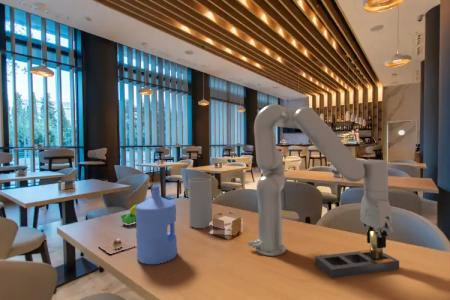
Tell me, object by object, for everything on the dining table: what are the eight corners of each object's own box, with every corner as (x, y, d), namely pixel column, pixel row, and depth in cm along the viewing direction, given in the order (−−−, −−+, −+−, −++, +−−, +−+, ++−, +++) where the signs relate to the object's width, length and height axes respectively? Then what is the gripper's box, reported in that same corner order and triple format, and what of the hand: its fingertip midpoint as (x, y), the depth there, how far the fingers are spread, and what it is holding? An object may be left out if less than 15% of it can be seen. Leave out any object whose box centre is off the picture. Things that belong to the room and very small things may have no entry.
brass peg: (375, 259, 91) (375, 234, 90) (367, 254, 95) (367, 230, 94) (385, 258, 91) (385, 232, 91) (376, 253, 95) (376, 229, 95)
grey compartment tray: (331, 278, 84) (331, 269, 84) (315, 264, 94) (315, 255, 94) (399, 269, 89) (399, 260, 89) (376, 256, 99) (376, 248, 99)
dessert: (97, 249, 113) (97, 238, 113) (124, 241, 122) (124, 231, 121) (109, 257, 105) (109, 245, 105) (137, 248, 113) (136, 237, 113)
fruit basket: (137, 219, 154) (136, 200, 153) (146, 222, 148) (146, 202, 148) (119, 225, 144) (119, 205, 144) (129, 227, 139) (128, 207, 139)
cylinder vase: (216, 223, 143) (215, 178, 142) (203, 230, 132) (202, 182, 131) (199, 220, 150) (198, 177, 149) (184, 226, 139) (183, 180, 138)
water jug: (140, 269, 93) (138, 192, 92) (134, 253, 107) (132, 185, 106) (182, 259, 100) (180, 187, 99) (171, 245, 114) (169, 182, 113)
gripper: (350, 191, 100) (351, 237, 100) (385, 200, 83) (386, 256, 84) (367, 189, 101) (368, 235, 102) (405, 198, 85) (405, 253, 85)
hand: (376, 244), depth 93 cm, fingers closed on brass peg, 4 cm apart
